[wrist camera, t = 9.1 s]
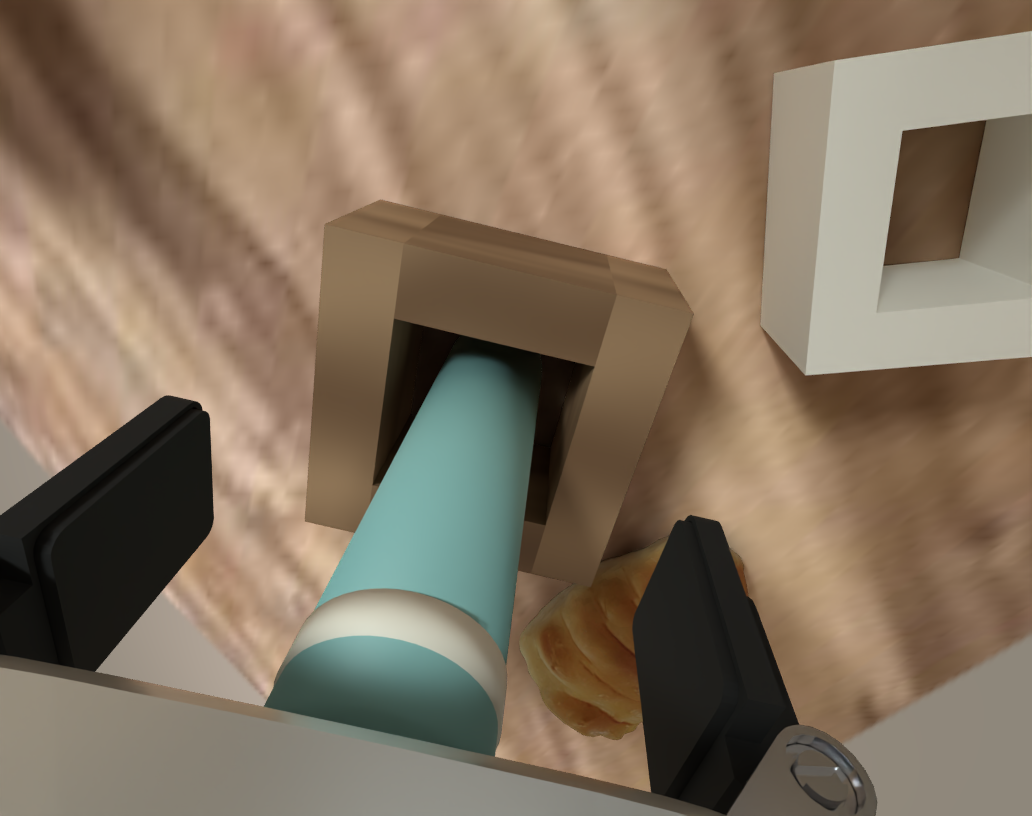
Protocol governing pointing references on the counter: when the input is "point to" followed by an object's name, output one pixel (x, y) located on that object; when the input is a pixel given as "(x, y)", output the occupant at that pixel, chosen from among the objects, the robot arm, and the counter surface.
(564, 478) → the brown square wooden frame
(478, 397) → the dowel
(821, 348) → the white square holed block
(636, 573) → the pastry
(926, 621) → the counter surface
